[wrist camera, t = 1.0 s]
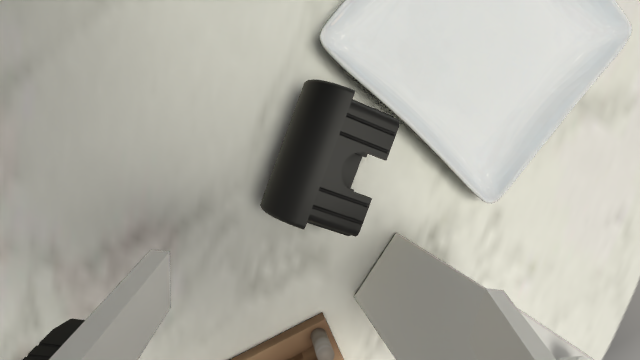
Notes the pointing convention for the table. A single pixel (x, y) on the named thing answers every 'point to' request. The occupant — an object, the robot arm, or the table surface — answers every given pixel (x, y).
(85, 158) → the table surface
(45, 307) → the table surface
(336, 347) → the jig
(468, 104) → the salad plate
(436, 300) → the milk carton
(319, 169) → the end cap
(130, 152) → the table surface
